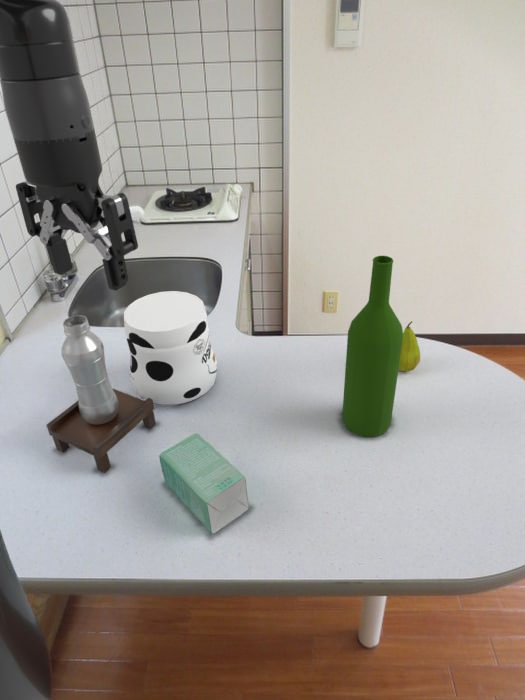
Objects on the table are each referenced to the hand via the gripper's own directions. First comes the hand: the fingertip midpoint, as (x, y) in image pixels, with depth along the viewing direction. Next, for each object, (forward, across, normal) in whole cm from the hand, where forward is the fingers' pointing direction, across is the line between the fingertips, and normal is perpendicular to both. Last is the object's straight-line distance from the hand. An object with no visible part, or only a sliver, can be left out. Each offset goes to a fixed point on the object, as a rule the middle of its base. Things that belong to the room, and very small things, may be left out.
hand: (90, 279), depth 60 cm
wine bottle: (+40, +23, +35) cm, 58 cm away
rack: (+40, -17, +9) cm, 44 cm away
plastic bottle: (+35, -17, +9) cm, 40 cm away
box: (+40, +7, +6) cm, 41 cm away
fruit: (+40, +24, +54) cm, 72 cm away
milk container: (+40, -15, +27) cm, 51 cm away
